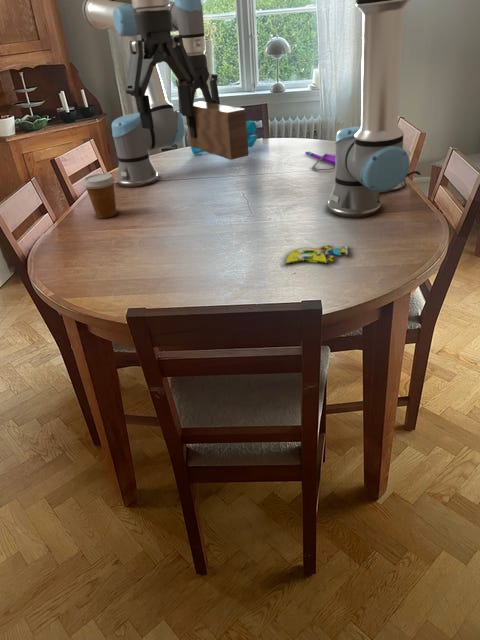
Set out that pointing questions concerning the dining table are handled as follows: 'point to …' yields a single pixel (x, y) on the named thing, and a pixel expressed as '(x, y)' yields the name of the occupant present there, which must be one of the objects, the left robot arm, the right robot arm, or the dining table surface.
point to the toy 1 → (251, 139)
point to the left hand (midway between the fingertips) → (203, 135)
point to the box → (220, 130)
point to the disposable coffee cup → (101, 194)
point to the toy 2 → (315, 255)
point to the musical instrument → (325, 157)
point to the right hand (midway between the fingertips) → (168, 121)
